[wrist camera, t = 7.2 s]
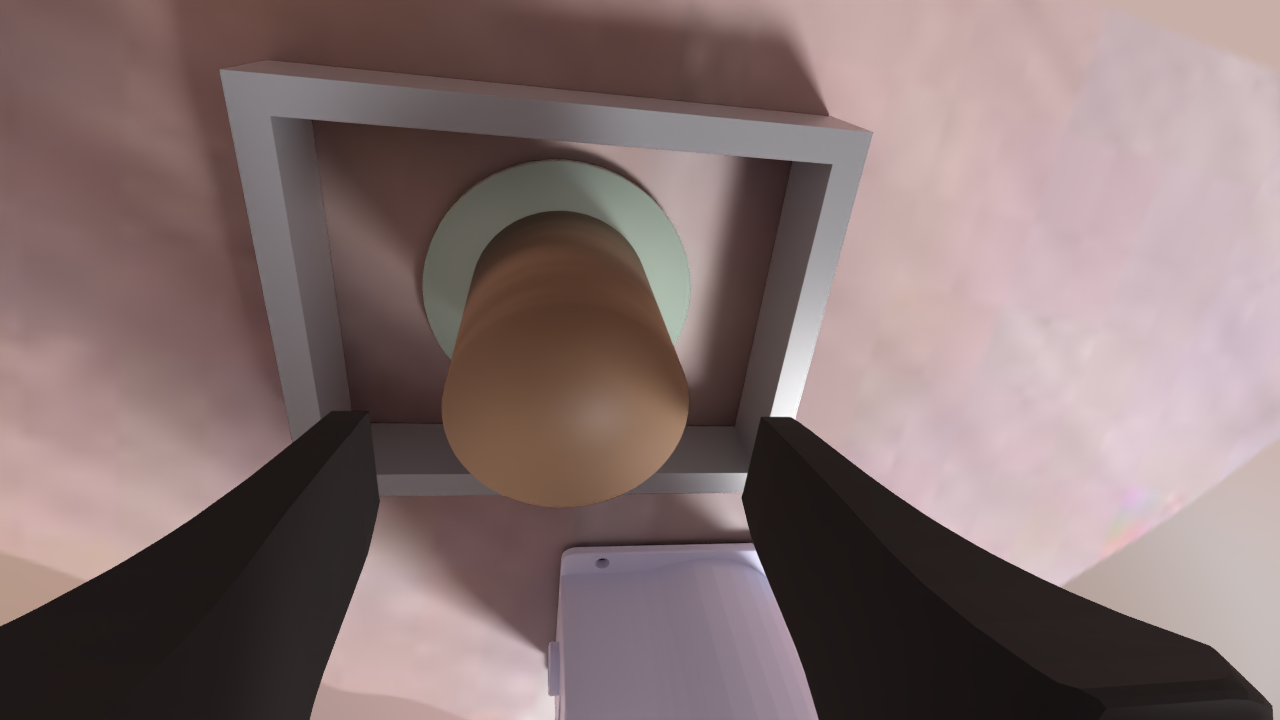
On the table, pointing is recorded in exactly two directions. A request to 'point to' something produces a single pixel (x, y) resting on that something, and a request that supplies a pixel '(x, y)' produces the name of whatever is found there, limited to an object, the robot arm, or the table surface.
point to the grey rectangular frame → (298, 93)
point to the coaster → (541, 192)
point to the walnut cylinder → (562, 366)
